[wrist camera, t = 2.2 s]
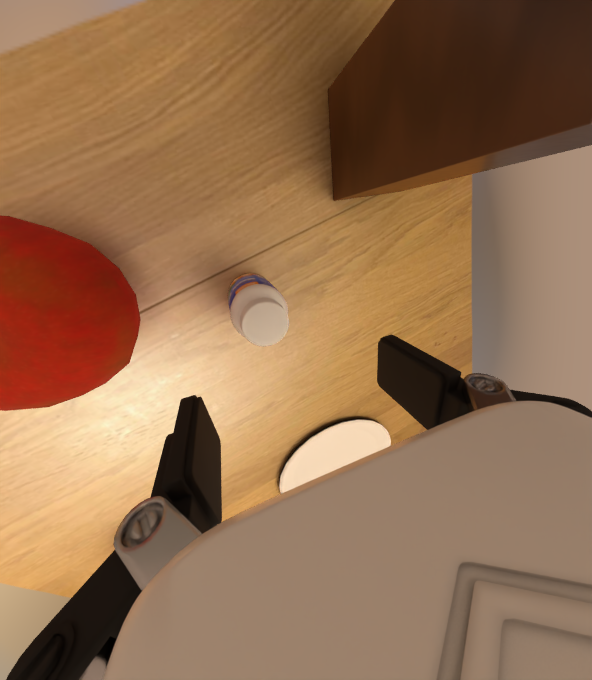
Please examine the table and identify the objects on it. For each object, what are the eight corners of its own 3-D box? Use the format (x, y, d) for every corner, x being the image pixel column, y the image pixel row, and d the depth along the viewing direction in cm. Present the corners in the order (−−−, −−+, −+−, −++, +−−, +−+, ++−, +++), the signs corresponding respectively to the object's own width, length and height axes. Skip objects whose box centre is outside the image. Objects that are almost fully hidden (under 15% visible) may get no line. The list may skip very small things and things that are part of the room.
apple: (-11, 321, 20) (-357, 450, 8) (8, 187, 17) (-485, 73, 5) (143, 359, 26) (77, 470, 14) (178, 263, 23) (133, 294, 11)
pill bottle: (245, 262, 25) (258, 276, 16) (281, 291, 27) (309, 315, 19) (217, 301, 26) (217, 333, 17) (256, 325, 28) (272, 363, 20)
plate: (250, 491, 41) (251, 498, 40) (342, 396, 38) (345, 400, 37) (332, 511, 54) (334, 517, 52) (406, 440, 51) (410, 444, 50)
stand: (327, 89, 21) (858, -621, 4) (407, 87, 23) (1007, -383, 5) (333, 201, 25) (591, 123, 8) (400, 191, 27) (728, 111, 10)
